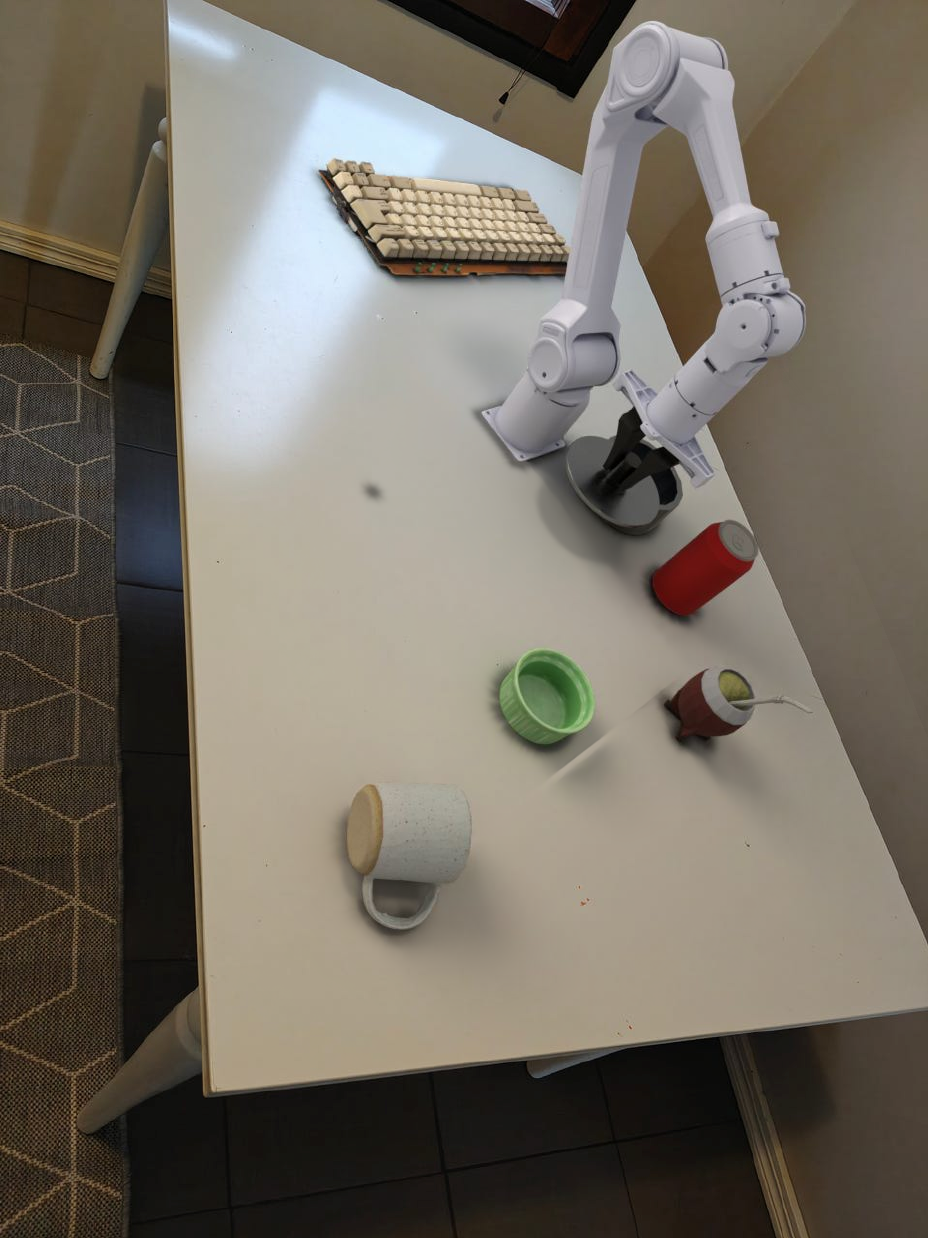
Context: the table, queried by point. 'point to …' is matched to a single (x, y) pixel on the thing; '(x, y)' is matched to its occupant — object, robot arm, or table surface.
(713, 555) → the beverage can
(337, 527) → the table surface
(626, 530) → the tin
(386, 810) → the ceramic mug
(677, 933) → the table surface
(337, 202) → the mechanical keyboard
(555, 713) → the ramekin
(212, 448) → the table surface
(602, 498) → the tin lid
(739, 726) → the mate gourd
